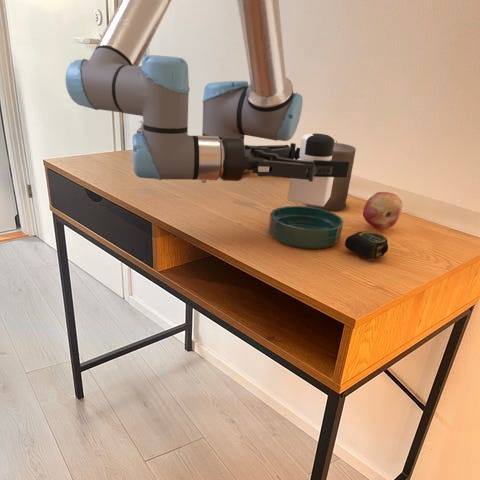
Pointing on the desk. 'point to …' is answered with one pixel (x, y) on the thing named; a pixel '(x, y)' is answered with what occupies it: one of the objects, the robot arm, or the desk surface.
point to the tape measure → (367, 244)
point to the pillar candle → (340, 178)
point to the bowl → (305, 227)
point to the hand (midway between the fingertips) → (336, 162)
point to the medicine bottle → (320, 187)
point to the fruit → (382, 210)
